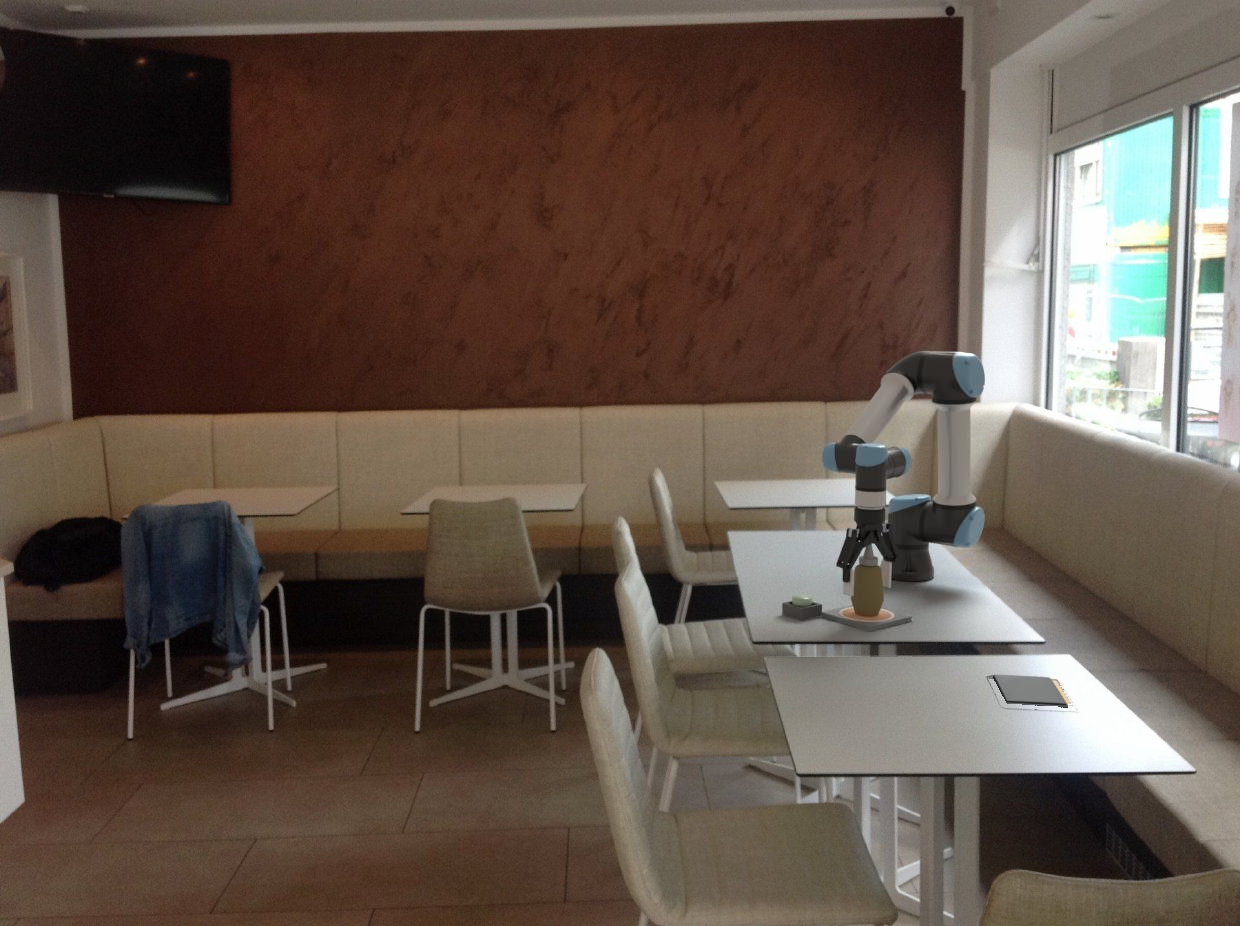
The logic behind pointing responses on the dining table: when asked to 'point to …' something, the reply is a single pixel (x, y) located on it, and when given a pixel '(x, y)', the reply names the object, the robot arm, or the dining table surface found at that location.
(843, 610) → the print board
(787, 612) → the button housing
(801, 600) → the button
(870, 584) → the squeeze bottle
